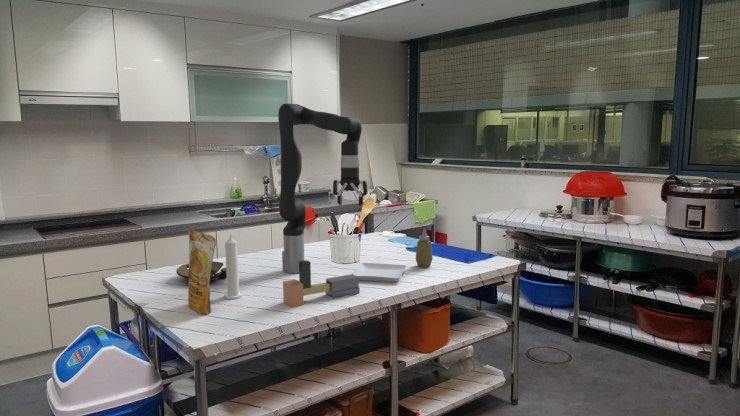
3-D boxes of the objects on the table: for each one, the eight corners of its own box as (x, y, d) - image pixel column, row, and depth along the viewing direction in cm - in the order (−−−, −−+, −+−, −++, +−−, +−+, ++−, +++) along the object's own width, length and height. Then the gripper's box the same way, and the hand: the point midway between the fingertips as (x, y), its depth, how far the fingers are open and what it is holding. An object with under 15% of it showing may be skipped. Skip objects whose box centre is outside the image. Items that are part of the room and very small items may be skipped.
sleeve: (351, 289, 215) (351, 273, 214) (359, 293, 210) (359, 277, 209) (325, 294, 209) (325, 278, 208) (332, 298, 204) (332, 282, 203)
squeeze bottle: (413, 267, 248) (413, 229, 246) (418, 263, 256) (418, 226, 253) (429, 269, 245) (430, 230, 243) (434, 264, 253) (435, 227, 250)
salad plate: (400, 285, 222) (400, 277, 221) (350, 282, 226) (350, 274, 225) (406, 271, 242) (406, 264, 242) (361, 269, 246) (361, 262, 246)
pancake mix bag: (200, 299, 202) (196, 228, 198) (221, 313, 188) (217, 235, 184) (183, 303, 198) (178, 230, 194) (202, 317, 184) (198, 238, 179)
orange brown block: (295, 299, 202) (295, 279, 201) (303, 304, 197) (303, 283, 195) (283, 301, 200) (282, 281, 199) (291, 307, 194) (290, 286, 193)
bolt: (336, 287, 209) (335, 255, 207) (340, 289, 207) (339, 257, 205) (289, 295, 199) (288, 262, 197) (292, 298, 196) (291, 264, 194)
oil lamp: (218, 269, 247) (218, 253, 246) (244, 284, 223) (244, 266, 222) (169, 277, 234) (168, 260, 233) (191, 294, 210) (190, 275, 209)
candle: (233, 300, 202) (230, 236, 198) (220, 297, 205) (217, 234, 202) (246, 295, 208) (244, 233, 204) (233, 292, 211) (231, 231, 207)
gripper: (330, 166, 215) (331, 206, 218) (364, 167, 212) (364, 207, 215) (335, 165, 222) (336, 203, 225) (368, 165, 219) (369, 204, 222)
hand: (350, 205), depth 220 cm, fingers open, 8 cm apart
